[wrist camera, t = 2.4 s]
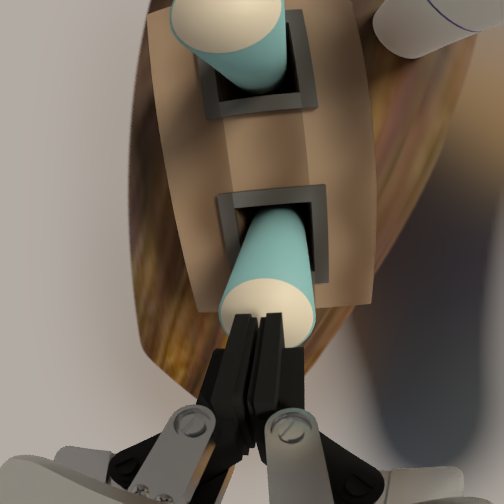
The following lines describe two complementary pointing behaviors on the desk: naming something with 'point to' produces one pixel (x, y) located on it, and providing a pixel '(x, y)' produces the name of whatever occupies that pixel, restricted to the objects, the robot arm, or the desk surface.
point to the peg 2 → (273, 274)
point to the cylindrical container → (432, 23)
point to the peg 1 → (236, 39)
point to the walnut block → (272, 153)
